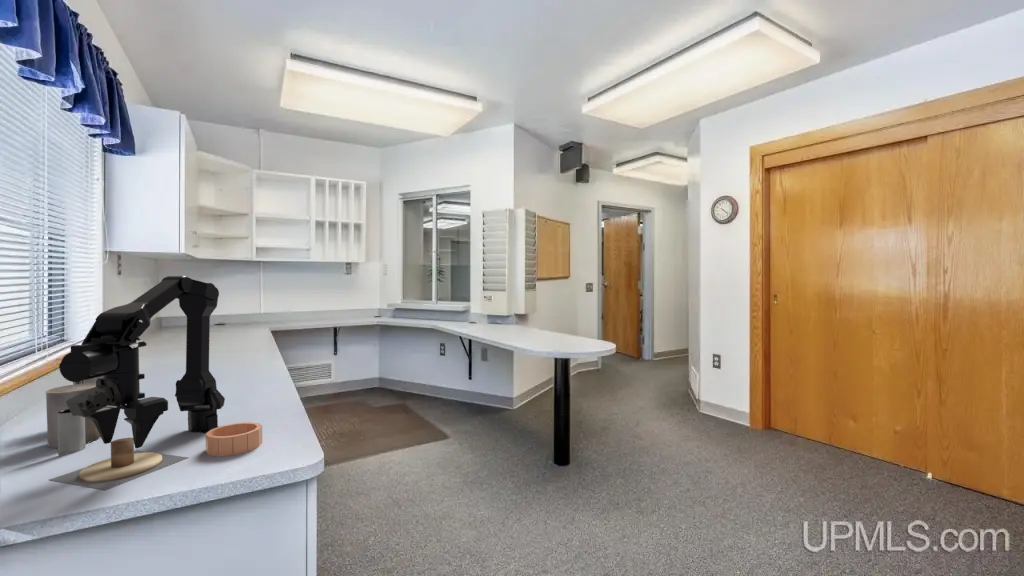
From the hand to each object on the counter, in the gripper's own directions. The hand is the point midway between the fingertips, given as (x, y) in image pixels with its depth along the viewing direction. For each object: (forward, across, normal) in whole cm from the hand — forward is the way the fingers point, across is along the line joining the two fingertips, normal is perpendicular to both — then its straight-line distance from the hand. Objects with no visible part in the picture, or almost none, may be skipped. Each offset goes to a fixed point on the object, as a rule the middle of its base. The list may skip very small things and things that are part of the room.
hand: (122, 445), depth 93 cm
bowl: (+6, +12, +16) cm, 21 cm away
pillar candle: (+6, -33, +10) cm, 35 cm away
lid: (+5, 0, 0) cm, 5 cm away
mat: (+6, 0, 0) cm, 6 cm away
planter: (+6, -23, +4) cm, 24 cm away
